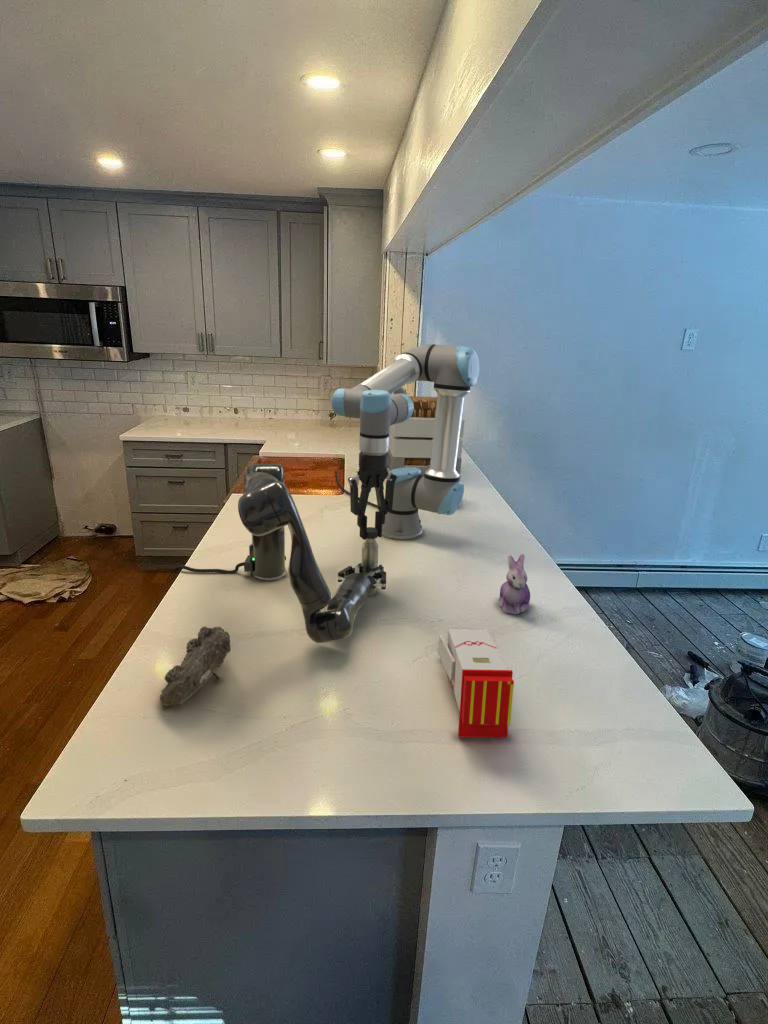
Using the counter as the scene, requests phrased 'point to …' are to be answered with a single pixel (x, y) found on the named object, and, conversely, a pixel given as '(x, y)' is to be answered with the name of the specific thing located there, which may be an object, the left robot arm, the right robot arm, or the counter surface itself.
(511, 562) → the figurine
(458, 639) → the toy
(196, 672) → the fossil
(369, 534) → the cap
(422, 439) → the light grey slatted box
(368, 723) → the counter surface
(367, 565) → the bottle
